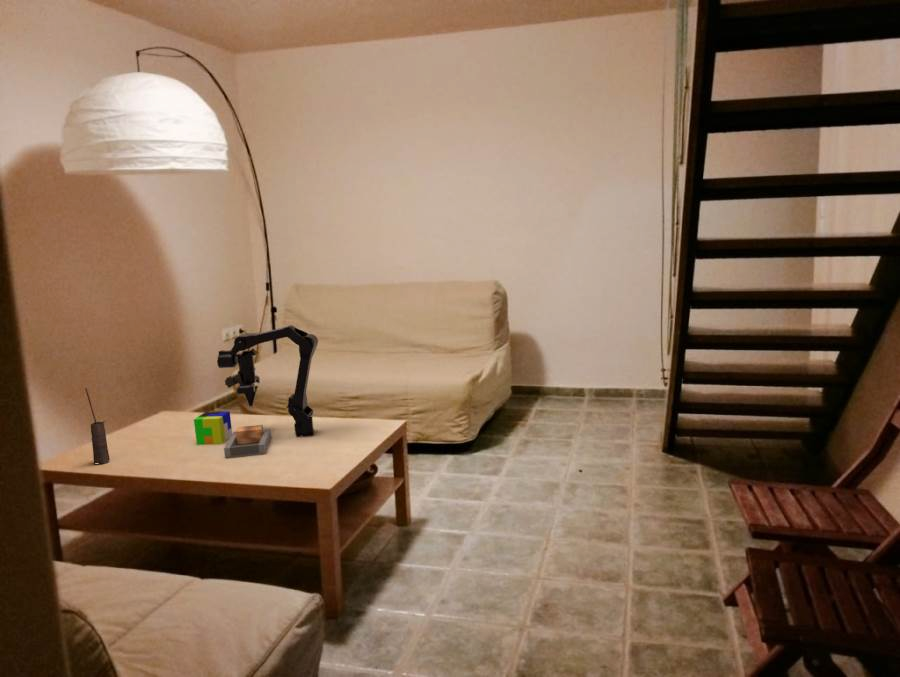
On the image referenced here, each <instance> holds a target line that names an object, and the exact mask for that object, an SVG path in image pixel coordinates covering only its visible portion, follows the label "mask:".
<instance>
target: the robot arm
mask: <svg viewBox="0 0 900 677" xmlns="http://www.w3.org/2000/svg"><path fill="white" fill-rule="evenodd" d="M284 338H288V339H289V340H291V342H293V343H294V344H295V345H297V346H298V353H299V364H298V365H299V366H298V370H297V377H296V381H295V382H296V383H295V390H294V393H292V394H291V395H290V396H289V397H288V398H287V399H288V404H287V406H286V408H287V412H288V414H289V415H290V416H292V418H293V420H294V423H293V424H294V434H295V435H296V437H297V438H298V437H307V436H314V433H315V429H314V420H313V414H314V409H312V407H310V406H309V405H308V397H307V389H308V382H309V376H310V371H311V365H312V359H313V357H314V354H315V352H316V351H317V350H316V349H317V347H318V344H319V339H318V337H317V336H316V335H315V334H313V333H308V332H306V331H304V330H302V329H299V328H297V327H296V326H294V325H292V324H290V325H289V324H288V325H287V326H283V327H279V328H276V329H275V328H274V329H271V330H268V331H262V332H258V333H256V332H251V333H249V332H248V333H243V334H241V335H239V336H236V338H234V339H233V340H234V341H233V346H232V348H231V350H224V349H223V350H219V351H218V355H217V361H216V362H217V364H216V365H217V367H218V368H219V369H228V368H229V369H230V368H231V369H232V368H236V366H238V371H237V373H236V374H233V375H232V376H231V375H230V376H228V377H226V379H225V380H224V383H225V384H224V385H225V386H227V388H228V389H230V388H232V387H233V386H235V385H237V384H238V387H237V388H236V393H237V395H242V394H243V395H245V398H246V401H247V403H248V406H249V407H253V405H254V402H255V398H256V396H257V395H256V394H257V391H258V388H259V385H255V383H257V384H260V383H261V378H260V376H259V375H256V367H255V361H254V356H257V355H258V354H259V352H258V351H257V350H256V349H255V348H253V347H255V346H257V345H259V344H263V343H266V342H271V341H275V340H280V339H284ZM249 349H250V350H249Z"/></svg>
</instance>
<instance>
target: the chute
mask: <svg viewBox="0 0 900 677" xmlns="http://www.w3.org/2000/svg"><path fill="white" fill-rule="evenodd" d="M271 439H272V430H271V428H265V429H264V433H263V435H262V438H261V440H260V442H257V443H247V444H237V439H236V431H232V435H231V437H230V438H229V439H228V440H227V442H226V443H225V446H224V447H223V451H224V459H229V458H230V459H231V458H240V457H249V456H258V455H259V456H260V455H266V453H267V450H268V448H269V446H270V443H271Z"/></svg>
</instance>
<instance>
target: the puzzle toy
mask: <svg viewBox="0 0 900 677" xmlns="http://www.w3.org/2000/svg"><path fill="white" fill-rule="evenodd" d="M193 423H194V424H193V425H194V431H195V432H194V433H195V440H196V441H195V442H196V445H222V444H223V443H225V442H226V441H228V440H229V439H230V437H231V435H232V433H233V427H232V419H231V412H230V411H205V412H204V413H202V414H200V415H199V416H197V417H196V418H194V419H193Z"/></svg>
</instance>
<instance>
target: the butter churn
mask: <svg viewBox="0 0 900 677" xmlns="http://www.w3.org/2000/svg"><path fill="white" fill-rule="evenodd" d="M84 388H85V393H86V396H87V399H88V400H87V401H88V403H89V406H90V410H91V414H92V417H93V422H92V423H90V435H91V443H92V456H93V464H94V463H105V462H107V463H109V462H110V461H111V459H110V453H109V448H108V440H107V435H106V429H105V422H106V420H103V421H97V419H96V416H95V412H94V409H93V405H92V402H91V399H90V395H89V392H88V388H87V387H84ZM109 460H110V461H109ZM108 461H109V462H108ZM105 464H106V463H105Z"/></svg>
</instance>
